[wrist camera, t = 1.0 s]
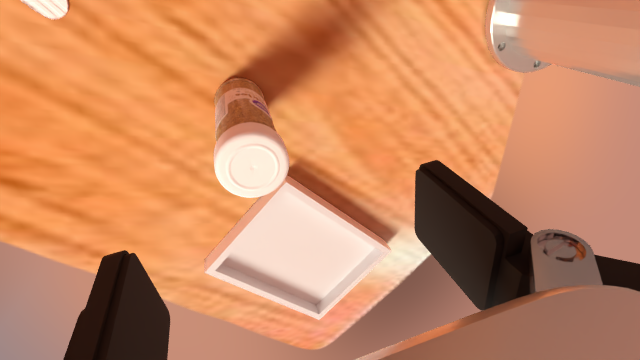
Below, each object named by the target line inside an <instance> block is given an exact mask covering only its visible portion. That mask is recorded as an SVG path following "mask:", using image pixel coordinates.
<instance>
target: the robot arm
mask: <svg viewBox="0 0 640 360" xmlns="http://www.w3.org/2000/svg"><path fill="white" fill-rule="evenodd" d="M485 31H486V40H487V44H488V48H489V50H490V52H491V54H492V56H493V58H494V59H495V60H496V61H497V62H498V63H499V64H500V65H502V66H503V67H505V68H507V69H510V70H513V71H517V72H523V73H525V72H534V71H537V70H540V69H543V68H545V67H547V66H549V65H551V64H554V65H558V66H561V67H565V68H569V69H573V70H577V71H581V72H585V73H588V74H592V75H596V76H600V77H604V78H608V79H611V80H616V81H619V82H623V83H627V84H631V85H635V86H638V87H640V0H490V1H489V5H488V9H487V13H486V23H485ZM415 233H416V235H417V237H418V239H419V240H420V241H421V242H422V243H423V245H424V246H425V247H426V248H427V249H428V250H429V252H430V253H431V254H432V255H433V256H434V258H435V259H436V260H437V261H438V262H439V263H440V265H441V266H442V267H443V268H444V269H445V270H446V272H447V273H448V274H449V275H450V276H451V278H452V279H453V280H454V281H455V282H456V283H457V285H458V286H459V287H460V288H461V289H462V290H463V292H464V293H465V294H466V295H467V296H468V297H469V299H470V300H471V301H472V302H473V303H474V305H475V306H476V307H477V308H478V309H480V310H483V311H481V312H478V313H475V314H473V315H470V316H467V317H464V318H462V319H459V320H457V321H454V322H452V323H449V324H446V325H444V326H441V327H438V328H436V329H433V330H431V331H428V332H425V333H423V334H420V335H417V336H415V337H412V338H410V339H407V340H404V341H402V342H399V343H396V344H394V345H391V346H389V347H386V348H384V349H381V350H378V351H376V352H373V353H371V354H368V355H366V356H363V357H360V358H358V359H355V360H640V264H636V263H632V262H627V261H622V260H617V259H613V258H608V257H602V256H598V255H594V253H593V250H592V249H591V247H590V245H588V244H587V243H586V242H585V241H584V240H583V239H581V238H579V237H578V236H576V235H574V234H571V233H569V232H565V231H561V230H553V229H552V230H551V229H548V230H541V231H539V232H537V233H535V234H534V235H533V234H531V233H530V232H529V231H527V227H526V226H525V225H523V224H522V223H521V222H519V221H518V220H517V219H515V218H514V217H512V216H511V215H510V214H509V213H507V212H506V211H504V210H503V209H502V208H501V207H499V206H498V205H497V204H495V203H494V202H493V201H491V200H490V199H489V198H487V197H486V196H485V195H483V194H482V193H481V192H480V191H478V190H477V189H476V188H474V187H473V186H472V185H470V184H469V183H468V182H466V181H465V180H464V179H462V178H461V177H460V176H458V175H457V174H456V173H454V172H453V171H452V170H450V169H449V168H448V167H446V166H445V165H444V164H442V163H441V162H440V161H438V160H435V161H431V162H428V163H424V164H421V165H420V167H419V169H418V170H417V171H416V181H415ZM169 329H170V315H169V311H168V309H167V307H166V306H165V304H164V302H163V300H162V298H161V297H160V295H159V293H158V292H157V290H156V288H155V286H154V285H153V283H152V281H151V280H150V278H149V276H148V274H147V273H146V271H145V269H144V268H143V266H142V264H141V262H140V261H139V259H138V257H137V256H136V254H135V253H131V254H129V253H128V252H127V251H125V250H124V251H120V252H117V253H113V254H110V255H107V256H104V257H103V258H102V261H101V263H100V266H99V269H98V272H97V275H96V278H95V281H94V284H93V288H92V290H91V294H90V296H89V299H88V302H87V305H86V308H85V309H84V310H83V311H82V312H81V313H80V315H79V317H78V320H77V323H76V326H75V328H74V331H73V334H72V337H71V340H70V342H69V345H68V348H67V351H66V354H65V357H64V360H167V353H168V342H169Z"/></svg>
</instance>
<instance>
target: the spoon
mask: <svg viewBox="0 0 640 360" xmlns="http://www.w3.org/2000/svg"><path fill="white" fill-rule="evenodd" d="M21 1H22V2H23V3H25V4H26V5H28V6H29V8H31V9H33V10H35V11H36V12H38V13H40V14H41V15H43V16H45V17H47V18H49V19H61V17H63V16H66V14H67V12H68V7H69V6H68V5H69V4H68V0H21Z"/></svg>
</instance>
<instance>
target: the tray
mask: <svg viewBox="0 0 640 360" xmlns="http://www.w3.org/2000/svg"><path fill="white" fill-rule="evenodd" d="M390 252H391V249H390V248H389V246H388V245H387V243H386V242H385V240H383V239H382V238H381V237H379V236H378V235H376V234H375V233H373V232H372V231H370V230H369V229H367V228H366V227H364V226H363V225H361V224H360V223H358V222H357V221H355V220H354V219H352V218H351V217H349V216H348V215H346V214H345V213H343V212H342V211H340V210H339V209H337V208H336V207H334V206H333V205H331V204H330V203H328V202H327V201H325V200H324V199H322V198H321V197H319V196H318V195H316V194H315V193H313V192H312V191H310V190H309V189H307V188H306V187H304V186H303V185H301V184H300V183H298V182H297V181H295V180H294V179H293V178H291V177H290V176H288V175H287V176H286V178H285V180H284V181H283V183H282V184H281V185H280V186H279V187H278V188H277V189H275V190H274V191H273V192H271V193H269V194H267V195H264V196H261V197H260V198H259V199H258V200H257V201H256V202H255V203H254V204H253V206H252V207H251V208H250V209H249V210H248V211H247V212H246V213H245V215H244V216H243V217H242V218H241V219H240V220H239V221H238V222H237V224H236V225H235V226H234V227H233V228H232V229H231V230H230V231H229V233H228V234H227V235H226V236H225V237H224V238H223V239H222V240H221V242H220V243H219V244H218V245H217V246H216V247H215V248H214V249H213V251H212V252H211V253H210V254H209V255H208V256H207V257H206V259H205V273H206V274H209V275H211V276H213V277H216V278H218V279H221V280H223V281H226V282H228V283H231V284H233V285H235V286H238V287H240V288H243V289H245V290H248V291H250V292H253V293H255V294H257V295H260V296H262V297H265V298H267V299H270V300H272V301H274V302H277V303H279V304H282V305H284V306H287V307H289V308H292V309H294V310H296V311H299V312H301V313H304V314H306V315H309V316H311V317H314V318H316V319H318V320H320V319H321V318H322V317H323V316H324V315H325V314H326V313H327V312H328V311H329V310H330V309H331V308H332V307H333V306H334V305H335V304H337V303H338V302H339V301H340V300H341V299H342V298H343V297H344V296H345V295H346V294H347V293H348V292H349V291H350V290H351V289H352V288H353V287H354V286H356V285H357V284H358V283H359V282H360V281H361V280H362V279H363V278H364V277H365V276H366V275H367V274H368V273H369V272H370V271H371V270H372V269H373V268H375V267H376V266H377V265H378V264H379V263H380V262H381V261H382V260H383V259H384V258H385V257H386V256H387V255H388V254H389V253H390Z"/></svg>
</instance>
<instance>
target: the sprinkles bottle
mask: <svg viewBox="0 0 640 360" xmlns="http://www.w3.org/2000/svg"><path fill="white" fill-rule="evenodd" d="M214 102H215V108H216V109H215V122H216V142H217V143H216V145H215V149H214V168H215V173H216V176H217V178H218V180H219V182H220V183H221V185H222V186H223V187H224V188H225V189H227V190H228V191H229V192H231V193H233V194H235V195H238V196H241V197H248V198H254V197H260V196H264V195H267V194H269V193H271V192H273V191H274V190H275V189H277V188H278V187H279V186H280V185H281V184H282V183H283V181H284V180H285V178H286V176H287V174H288V170H289V156H288V153H287V150H286V147H285V144H284V142H283V140H282V138H281V137H280V136H279V134H278V133H277V132H276V130H275V128H274V125H273V122H272V118H271V115H270V112H269V110H268V107H267V105H266V103H265V99H264V96H263V93H262V91H261V90H260V88H259V87H258V86H257V85H256V84H255V83H254V82H253V81H250V80H248V79H245V78H233V79H230V80H227V81H226V82H224V83H223V84H222V85H221V86H220V87H219V88H218V89H217V92H216V95H215V101H214Z"/></svg>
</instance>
